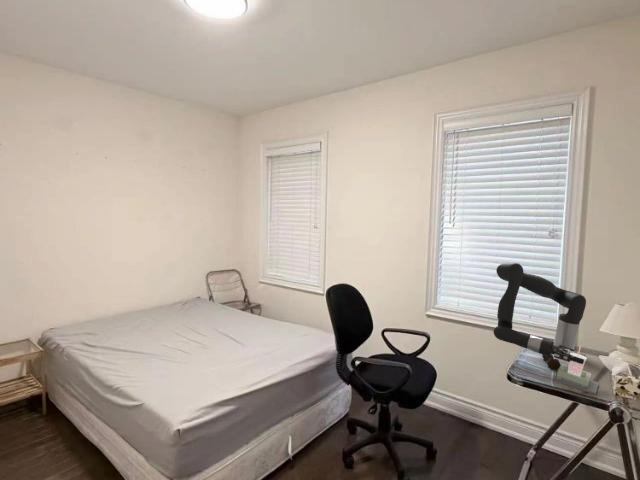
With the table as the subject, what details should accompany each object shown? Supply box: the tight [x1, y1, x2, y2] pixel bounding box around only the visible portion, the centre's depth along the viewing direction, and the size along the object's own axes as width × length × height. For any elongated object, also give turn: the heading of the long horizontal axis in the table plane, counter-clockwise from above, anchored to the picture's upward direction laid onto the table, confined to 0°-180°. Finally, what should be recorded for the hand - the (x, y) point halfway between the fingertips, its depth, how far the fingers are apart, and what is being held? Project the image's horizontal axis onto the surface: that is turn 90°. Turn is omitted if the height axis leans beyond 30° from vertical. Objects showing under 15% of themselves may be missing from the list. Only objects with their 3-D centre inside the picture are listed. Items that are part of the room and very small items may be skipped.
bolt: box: [541, 354, 562, 371], centre depth 169 cm, size 6×5×15 cm
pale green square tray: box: [555, 363, 599, 396], centre depth 151 cm, size 14×14×4 cm
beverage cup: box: [568, 344, 587, 377], centre depth 151 cm, size 6×6×14 cm
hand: (584, 359), depth 149 cm, fingers closed on beverage cup, 6 cm apart
